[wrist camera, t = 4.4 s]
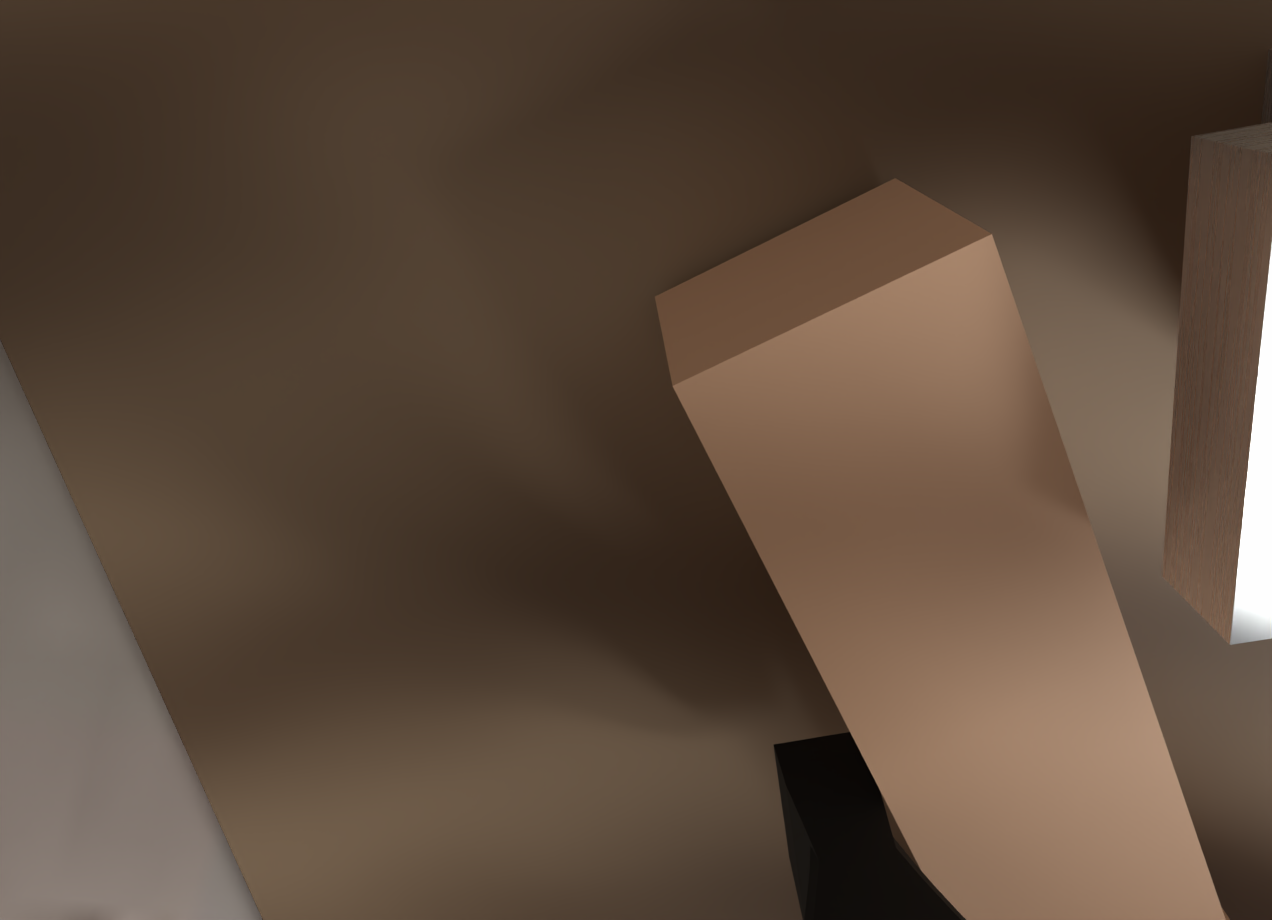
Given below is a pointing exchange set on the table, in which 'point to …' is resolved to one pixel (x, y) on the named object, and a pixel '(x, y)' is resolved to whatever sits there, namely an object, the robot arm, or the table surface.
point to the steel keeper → (1225, 386)
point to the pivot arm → (939, 557)
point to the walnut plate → (560, 400)
